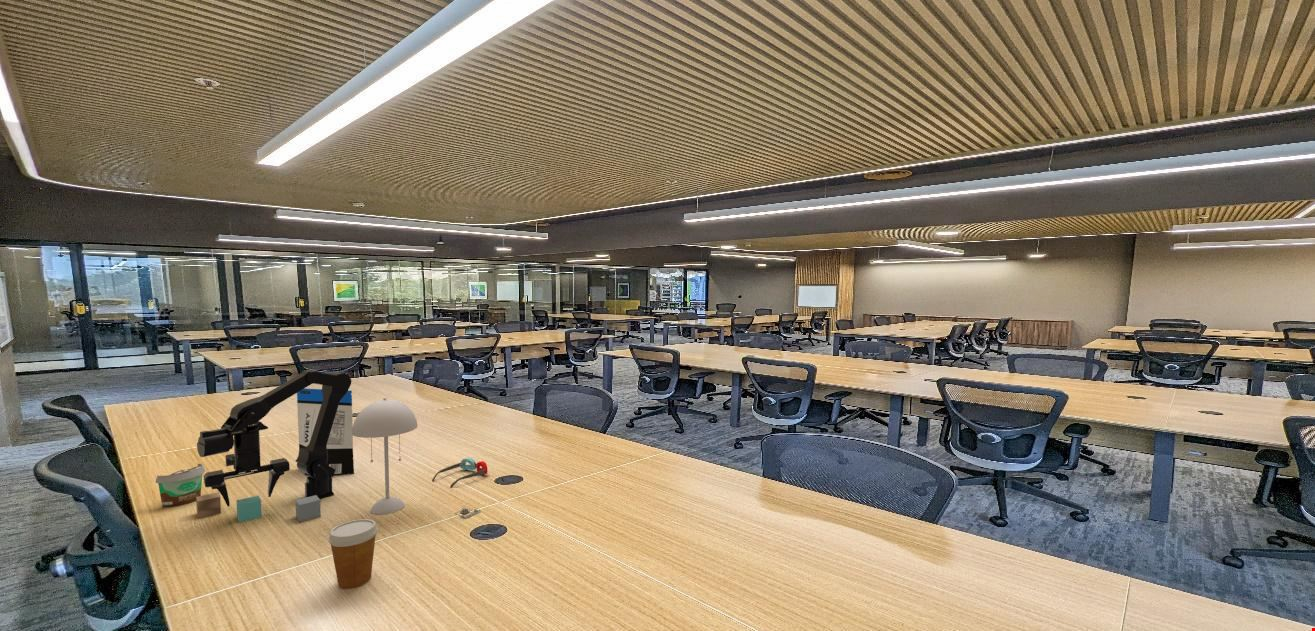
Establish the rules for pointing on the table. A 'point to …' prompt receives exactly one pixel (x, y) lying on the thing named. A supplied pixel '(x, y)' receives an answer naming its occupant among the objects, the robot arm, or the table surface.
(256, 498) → the teal block
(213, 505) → the walnut block
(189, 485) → the food container
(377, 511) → the lamp
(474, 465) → the novelty glasses
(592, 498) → the table surface
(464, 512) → the small grey metal mechanism
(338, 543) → the disposable coffee cup
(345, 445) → the protein powder
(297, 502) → the slate block
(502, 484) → the table surface
